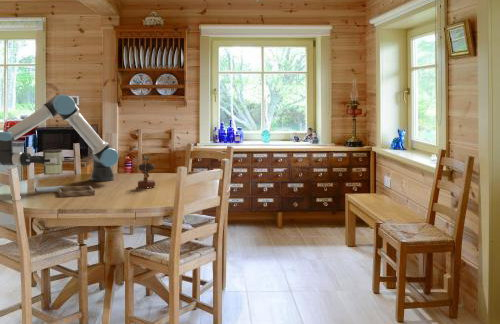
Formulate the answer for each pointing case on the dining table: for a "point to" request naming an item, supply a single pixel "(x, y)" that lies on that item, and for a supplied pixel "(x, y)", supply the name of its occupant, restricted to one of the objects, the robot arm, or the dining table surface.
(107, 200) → the dining table surface
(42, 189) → the slate mat
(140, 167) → the bird automaton toy
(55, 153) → the coffee can
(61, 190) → the square wooden tray
